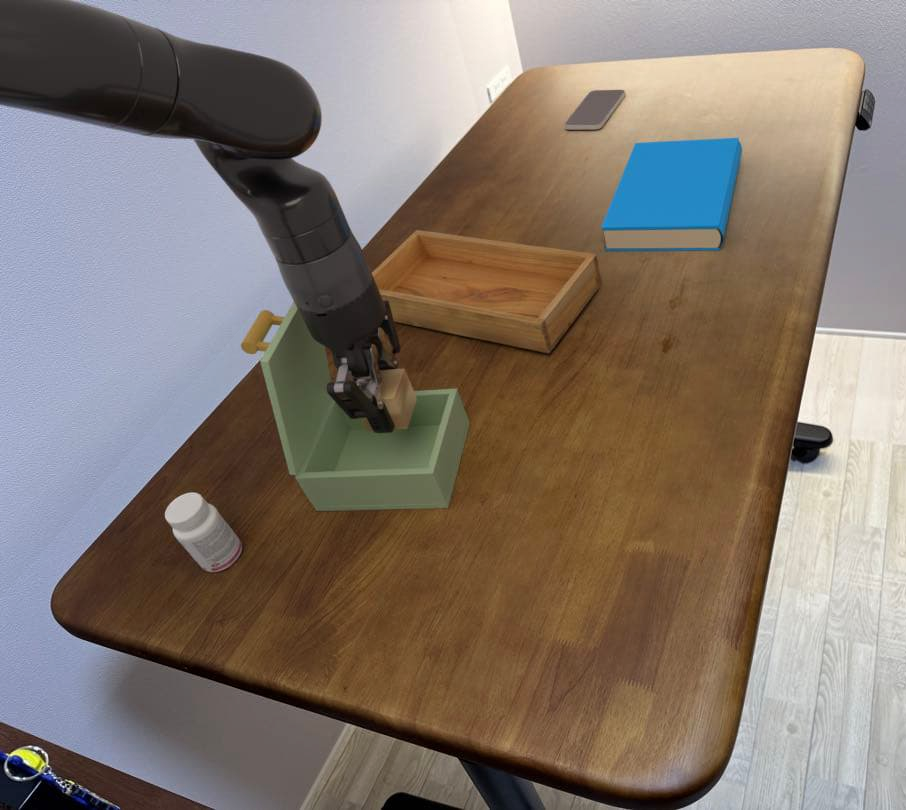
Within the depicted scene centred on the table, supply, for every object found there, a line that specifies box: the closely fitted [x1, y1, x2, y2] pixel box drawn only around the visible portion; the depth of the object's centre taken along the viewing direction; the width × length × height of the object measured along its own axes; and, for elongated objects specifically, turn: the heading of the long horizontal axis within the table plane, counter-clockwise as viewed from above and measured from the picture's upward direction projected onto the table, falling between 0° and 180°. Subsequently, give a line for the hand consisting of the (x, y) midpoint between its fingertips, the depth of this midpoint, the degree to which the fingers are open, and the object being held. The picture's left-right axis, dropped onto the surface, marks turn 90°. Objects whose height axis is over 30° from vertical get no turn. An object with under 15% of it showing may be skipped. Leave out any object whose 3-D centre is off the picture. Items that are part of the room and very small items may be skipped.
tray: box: [371, 229, 602, 354], centre depth 107 cm, size 31×15×6 cm, turn 60°
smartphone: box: [564, 89, 626, 130], centre depth 146 cm, size 7×1×15 cm
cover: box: [240, 301, 332, 476], centre depth 81 cm, size 16×13×5 cm
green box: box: [295, 388, 471, 512], centre depth 88 cm, size 16×13×6 cm
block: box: [361, 368, 417, 431], centre depth 82 cm, size 4×4×4 cm
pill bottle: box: [164, 491, 243, 573], centre depth 82 cm, size 5×5×8 cm
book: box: [600, 137, 743, 252], centre depth 117 cm, size 17×4×25 cm
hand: (391, 412), depth 83 cm, fingers closed on block, 4 cm apart
